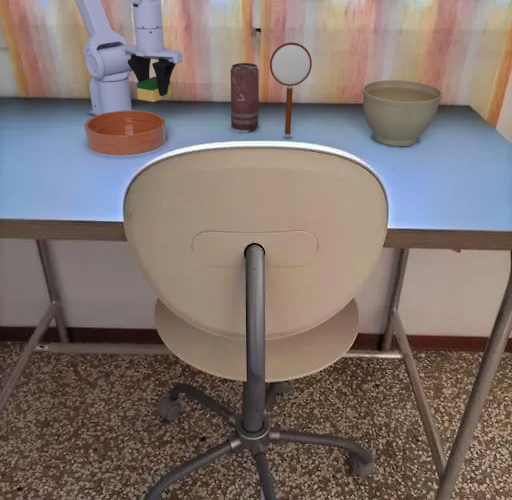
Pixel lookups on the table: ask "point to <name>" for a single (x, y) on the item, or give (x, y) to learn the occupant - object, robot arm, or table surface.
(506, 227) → the table surface
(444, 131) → the table surface
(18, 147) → the table surface
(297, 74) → the magnifying glass
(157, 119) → the bowl
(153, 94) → the sponge
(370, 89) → the planter bowl
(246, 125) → the can
